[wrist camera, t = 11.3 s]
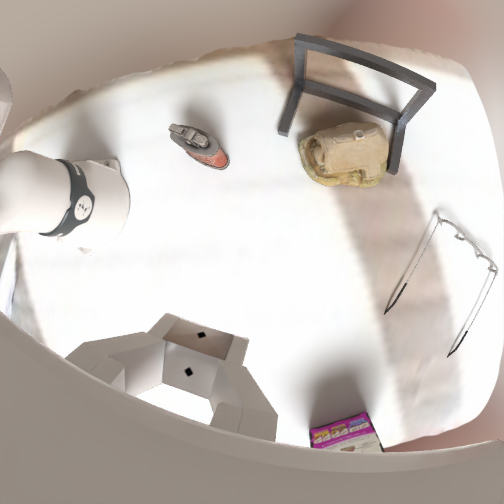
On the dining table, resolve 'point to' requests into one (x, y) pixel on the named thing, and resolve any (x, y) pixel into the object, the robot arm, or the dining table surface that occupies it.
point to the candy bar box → (347, 435)
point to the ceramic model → (346, 154)
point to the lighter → (199, 146)
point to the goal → (352, 100)
